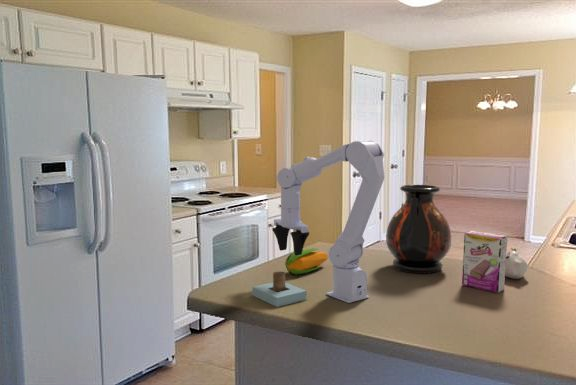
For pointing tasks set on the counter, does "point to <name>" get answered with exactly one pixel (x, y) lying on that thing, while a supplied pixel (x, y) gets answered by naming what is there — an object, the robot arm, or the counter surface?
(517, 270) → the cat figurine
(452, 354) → the counter surface
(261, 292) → the board
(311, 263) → the corn
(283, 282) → the peg
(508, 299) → the counter surface
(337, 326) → the counter surface
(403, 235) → the black and orange vase
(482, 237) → the candy bar box
